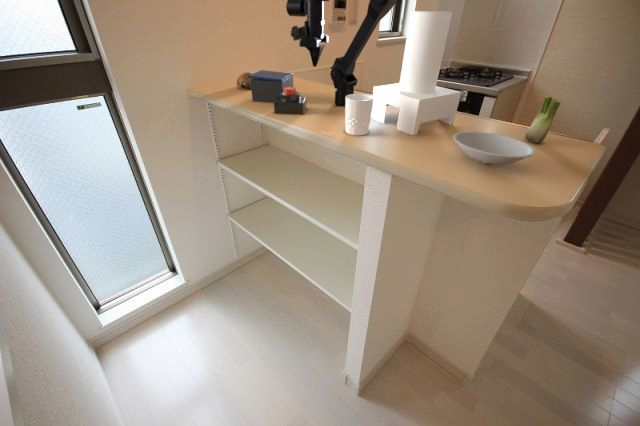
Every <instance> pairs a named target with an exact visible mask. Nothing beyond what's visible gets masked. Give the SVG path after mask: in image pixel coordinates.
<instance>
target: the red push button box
mask: <svg viewBox="0 0 640 426" xmlns="http://www.w3.org/2000/svg"><path fill="white" fill-rule="evenodd" d="M273 108H274V109H273V111H274V114H279V115H281V114H282V115H304V114H305V111H306V109H307V96H301V92H299V91H296V94H295V95H285V94H284V92H281V93H280V96H278V97H277V99H276V100H275V101H274V103H273Z"/></svg>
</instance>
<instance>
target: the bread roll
mask: <svg viewBox="0 0 640 426" xmlns="http://www.w3.org/2000/svg"><path fill="white" fill-rule="evenodd" d="M251 74H253V72H249V71H246V72H243V73H241V74H240V75H239V76H238V77H237V79H236V87H237V88H238V89H239V90H251V82H250V80H251V79H253V78H248V76H249V75H251Z"/></svg>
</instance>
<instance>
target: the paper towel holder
mask: <svg viewBox="0 0 640 426" xmlns="http://www.w3.org/2000/svg"><path fill="white" fill-rule="evenodd" d="M452 16H453V11H435V10H434V11H433V10H428V11H427V10H411V11H410V13H409V19H408V26H407V32H406V38H405V45H404V51H403V57H402V64H401V71H400V77H399V82H397V83H390V84H384V85H376V86H373V89H372V97H373V98H374V99H373V106H372V112H371V118H370V120H373V121H376V122H377V123H378V122H379V123H381V124H385V117H386V110H387V107H388V106H392V107H394V108H398V109H399V110H398V115H397V116H398V117H397V123H396V130H398V131H400V132H403V133H406V134H407V135H411V136H416V135H418V131H419V128H420V124H425V123H427V122H432V121H436V120H437V121H440V122H444V123H446V124H449V125H448V126H453V125H454V122H455V118H456V115H457V111H458V108H459V104H460V100H461V96H462V91H459V90H456V89H451V88H446V87H443V86H438V79H439V75H440V71H441V67H442V66H441V65H442V61H443V56H444V53H445V49H446V43H447V39H448V34H449V29H450V25H451V21H452Z"/></svg>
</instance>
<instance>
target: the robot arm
mask: <svg viewBox="0 0 640 426" xmlns="http://www.w3.org/2000/svg"><path fill="white" fill-rule="evenodd" d="M329 1H330V0H286V5H285V9H286V13H287V15H288V16H289V17H298V18H300V17H301V18H305V17H306V20H304V25H303V26H300V27H299V26H298V25H294V26H292V27H291V30H290V37H292V40H293V41H294V42H295V41H298V42H299V43H298V44H299V45H298V46H299V47H300V48H305V49H306V50H307V51H308V52H309V56H310V59H311V63H312V67H315V68H316V67H317V66H318V64H319V61H320V58H321V55H322V53H323V51H324V48H325V46H326V45H325V44H329V42H330V40H329V39H330V36H329V35H328V34H327V33H324V25H325V20H324V2H329ZM397 1H398V0H369V2H368V6H367V11H366V15H365V17H364V19H363V20H362V23H361V24H360V26H359V28H358V30H357V32H356V33H355V35H354V37H353V38H352V41H351V43H350V45H349V46H348V48H347V50H346V51H345V53H344V55H342V56H339V57H336V58H335V60H334V61H333V64H332V66H331V67H330V69H331V70H330V73H329V75H330V79H331V81H332V83H333V87H334V89H335V91H334V104H335V106H336V107H345V97H346V96H347V95H350V94H355V93H354V92H355V87H357V84H358V82H359V80H358V78H357V77H356V75H355V74H354V71H355V69H356V62H357V60H358V58H359V57H360V55H361V54H362V52H363V50H364V48H365V46H366V45H367V43H368V41H369V39H370V38H371V36H372V34H373V33H374V31H375V29H376V28H377V26H378V24H379V23H380V21H382V19H383V18H384V17H385V16H387V15H388V14H389V12H390V11H391V10H392V9H393V7H394V6H395V5H396V4H397ZM322 43H325V44H322Z"/></svg>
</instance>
